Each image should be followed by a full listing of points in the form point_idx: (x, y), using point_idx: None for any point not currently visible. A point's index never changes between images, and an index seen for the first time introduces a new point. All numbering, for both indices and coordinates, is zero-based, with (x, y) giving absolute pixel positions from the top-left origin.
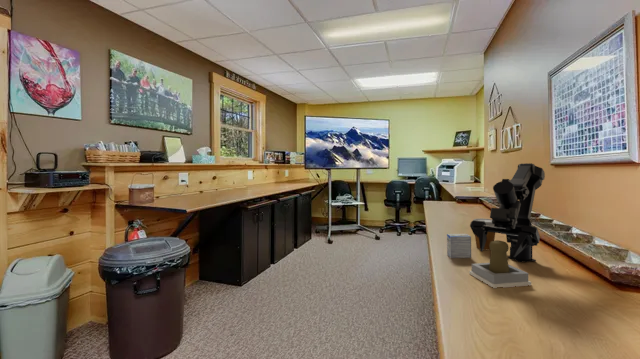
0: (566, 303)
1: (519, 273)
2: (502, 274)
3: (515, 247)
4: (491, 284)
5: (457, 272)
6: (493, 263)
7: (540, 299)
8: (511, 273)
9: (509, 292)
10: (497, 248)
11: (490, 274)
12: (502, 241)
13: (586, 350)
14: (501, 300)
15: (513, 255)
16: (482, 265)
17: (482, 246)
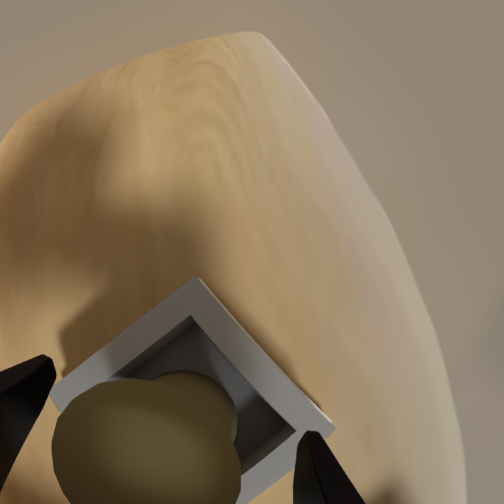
0: (10, 256)
1: (79, 373)
2: (154, 318)
3: (2, 388)
4: (209, 290)
5: (375, 404)
6: (202, 392)
7: (59, 251)
8: (113, 357)
9: (143, 267)
10: (146, 381)
11: (213, 297)
12: (87, 488)
13: (77, 86)
14: (174, 184)
15: (49, 357)
16: (275, 446)
17: (308, 462)
